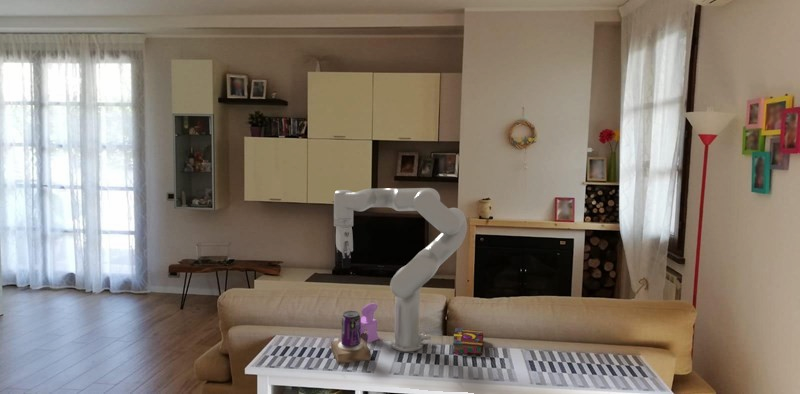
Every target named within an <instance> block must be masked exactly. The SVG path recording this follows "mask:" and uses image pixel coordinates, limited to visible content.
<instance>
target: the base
mask: <svg viewBox="0 0 800 394" xmlns="http://www.w3.org/2000/svg"><path fill="white" fill-rule="evenodd" d="M330 350H331V353H332V354H333V356H334V358H335V360H336V363H337V364H338V365H339V364H346V363H355V362H361V361H362V362H363V361H368V360H369V359H370V360H371V349H370V348H369V346H368V345H367V342H365V340H364V339H363V337H361V343H360V344H359V345H357V346H355V347H346V346H344V345H342V343H341V339H340V340H332V341H330Z"/></svg>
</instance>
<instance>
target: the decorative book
mask: <svg viewBox="0 0 800 394" xmlns="http://www.w3.org/2000/svg"><path fill="white" fill-rule="evenodd" d="M452 345H453V349H452V354H455V356H458V355H459V356H460V355H474V356H482V355H483V353H484V331H483V330H478V329H476V330H475V329H465V328H457V327H455V329H454V334H453V341H452Z"/></svg>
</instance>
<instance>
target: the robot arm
mask: <svg viewBox="0 0 800 394" xmlns="http://www.w3.org/2000/svg"><path fill="white" fill-rule="evenodd" d="M370 208H391V209H393V210H395V211H397V212H415V211H416V212H418V213H419V214H420V216H422V217H423V218H424V219H425V220H426V222H428V223H429V224H431V225H432V226H433V227H434V228H435V229H437V231H439V232H440V234H438V235H437V237H435V239H434V240H433V241H431V242H430V243H429V244H428V245H427V246H425V248H423V249H422V250H420V251H419V252H418V253H417V254H416V255H415V256H414V257H413V258H412V259H411V260H410V261H408V263H407V264H406V265H404V266H402V267H401V268H399V269H398V270H397V271H396V272H395V274H394V275H393V277H392V278H391V279H390V283H389V288H390V291H391V293H392V294H393V296H395V299H394V301H395V303H394V338H392V339H391V340H390V347H391V349H393V350H396V351H399V352H405V353H407V352H416V351H419V350H420V349H422V348H423V346H424V345H423V341H425V340H428V341H429V340H431V338H432V336H431V334H426V333H425V332H421V333H420V310H421V309H420V307H421V292H422V291H421V290H422V287H423V286H424V285H425V284H426V283H428V282H429V281H430V279H432V278H433V276H434V275H435V274H436V273H437V271H438V269H439V267H440V266H441V265H443V264H444V262H446V261H447V260H448V259H449V258H450V257H451V256H452V255H453V254H454V253H455V252H456V251H457V250H458V249H459V248H460V246H461V245H462V244H463V242H464V240H465V238H466V235H467V230H468V223H467V218H466V215H465V214H464V212H463V210H461V209H460V208H457V207H450V208H448V207H447V205H445V204H444V203H443V202H442V201H441V196H440V193H439V192H438V191H437V190H436V189H435V188H431V187H420V188H419V187H417V188H415V187H414V188H413V187H412V188H411V187H410V188H409V187H408V188H396V187H395V188H394V187H393V188H386V187H385V188H384V187H383V188H365V189H362V190H359V191H355V192H353V191H352V190H349V189H337V190H335V192H334V193H333V226H334V227H335V245H336V246H335V247H336V262H338V263H340V262H341V268H342V269H350V268H351V264H352V263H351V262H352V261H351V259H352V257H351V253H352V252H353V251H354V239H353V229H352V227H354V211H355V212H364V211H366V210H368V209H370Z"/></svg>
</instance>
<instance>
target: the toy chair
mask: <svg viewBox="0 0 800 394" xmlns="http://www.w3.org/2000/svg"><path fill="white" fill-rule="evenodd" d="M376 310H378V304H377V303H376V302H371V303H368V304H366V305H364V307H362V309H361V315H362V316H360V318H361V334H362V333H364V332H366V334H367V339H366V340H367V341H366V344H368V343H371V342H374V341H376V340H378V339H380V337H379V335H378V332H377V330H378V320H377V319H375V318H374V314H375V312H376ZM364 334H365V333H364ZM362 335H363V334H362Z"/></svg>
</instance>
